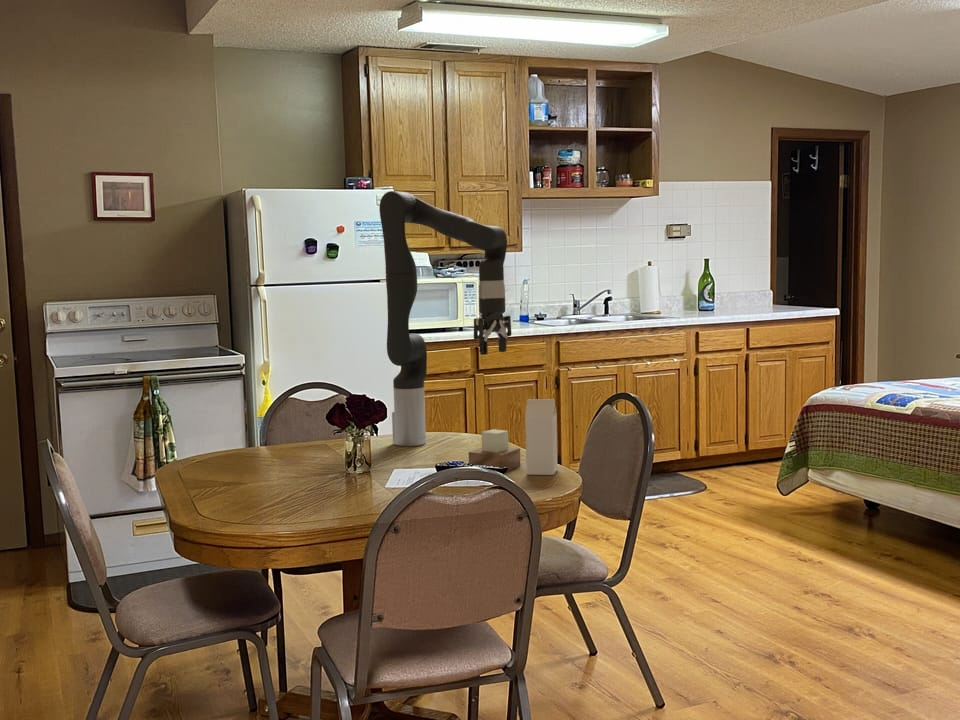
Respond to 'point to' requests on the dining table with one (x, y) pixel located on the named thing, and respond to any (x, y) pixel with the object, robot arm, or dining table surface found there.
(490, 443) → the sage cube
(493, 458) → the walnut block
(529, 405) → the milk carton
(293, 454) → the dining table surface
